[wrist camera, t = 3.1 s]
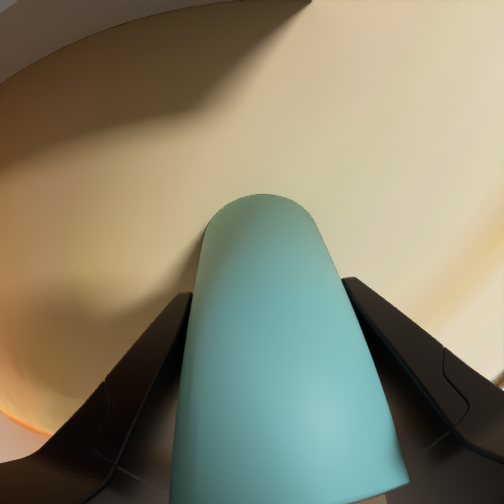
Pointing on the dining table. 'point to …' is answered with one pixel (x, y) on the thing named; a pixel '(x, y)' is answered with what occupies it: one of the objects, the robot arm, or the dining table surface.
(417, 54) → the dining table surface
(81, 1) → the box
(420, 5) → the dining table surface
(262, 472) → the peg
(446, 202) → the dining table surface
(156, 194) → the dining table surface
